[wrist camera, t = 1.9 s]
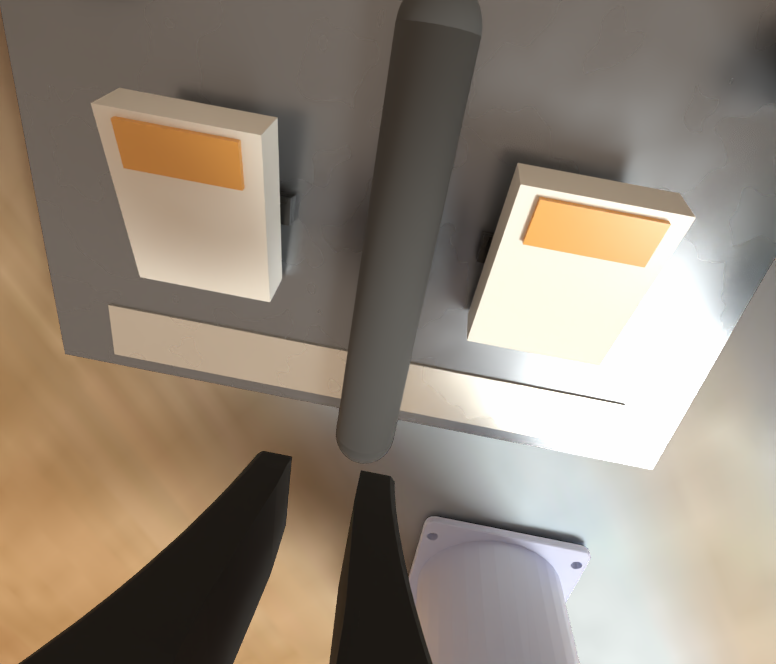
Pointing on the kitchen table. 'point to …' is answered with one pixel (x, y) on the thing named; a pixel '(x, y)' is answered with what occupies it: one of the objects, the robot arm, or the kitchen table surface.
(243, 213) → the paddle
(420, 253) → the dark grey rod
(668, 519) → the kitchen table surface
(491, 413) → the panel
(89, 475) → the kitchen table surface
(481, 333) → the paddle
